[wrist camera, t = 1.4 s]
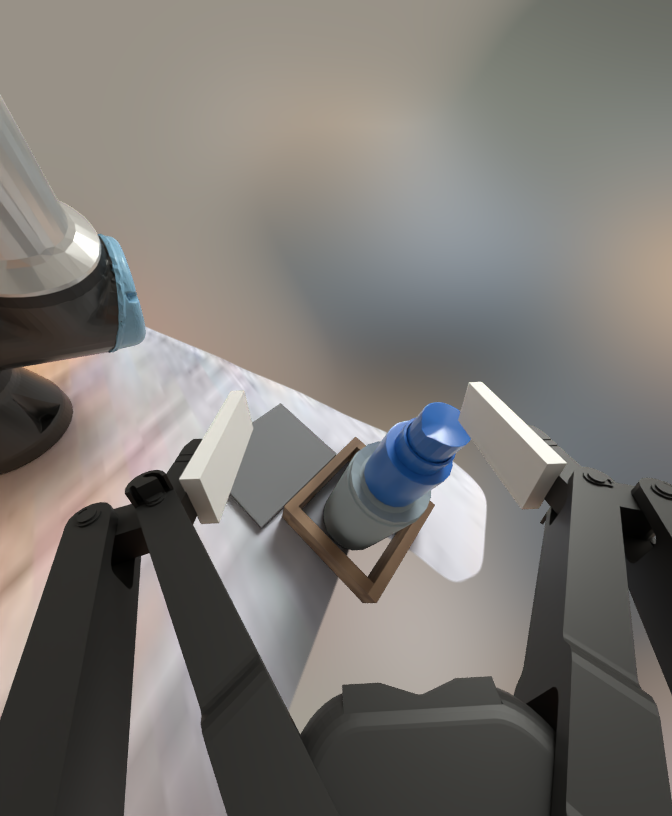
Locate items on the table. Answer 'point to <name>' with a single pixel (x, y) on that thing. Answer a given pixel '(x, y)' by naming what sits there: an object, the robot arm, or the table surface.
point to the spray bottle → (394, 478)
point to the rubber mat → (277, 464)
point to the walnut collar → (330, 552)
